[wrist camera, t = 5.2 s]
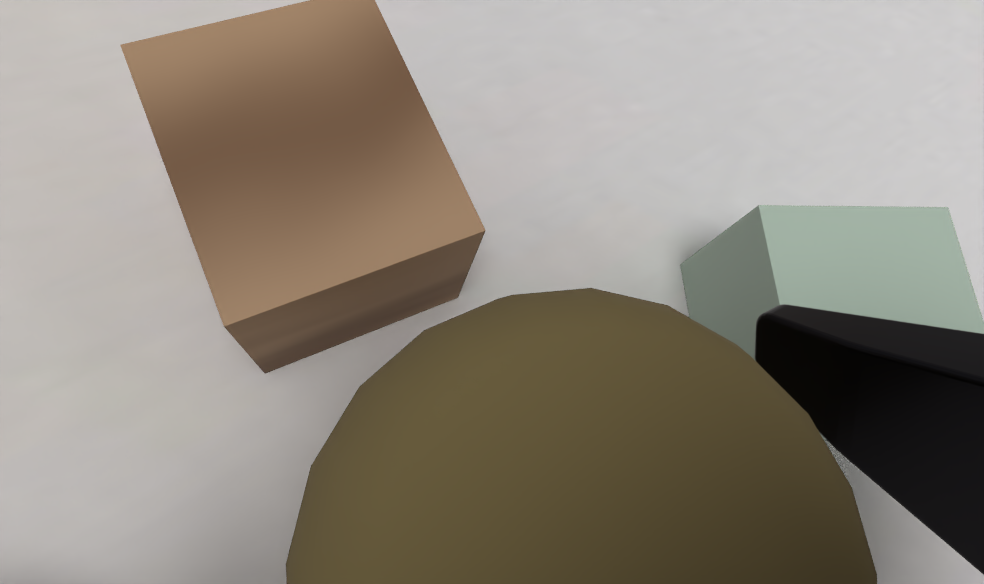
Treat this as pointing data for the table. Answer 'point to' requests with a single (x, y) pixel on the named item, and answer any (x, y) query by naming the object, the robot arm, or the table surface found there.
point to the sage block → (832, 268)
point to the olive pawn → (576, 460)
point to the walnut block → (306, 174)
